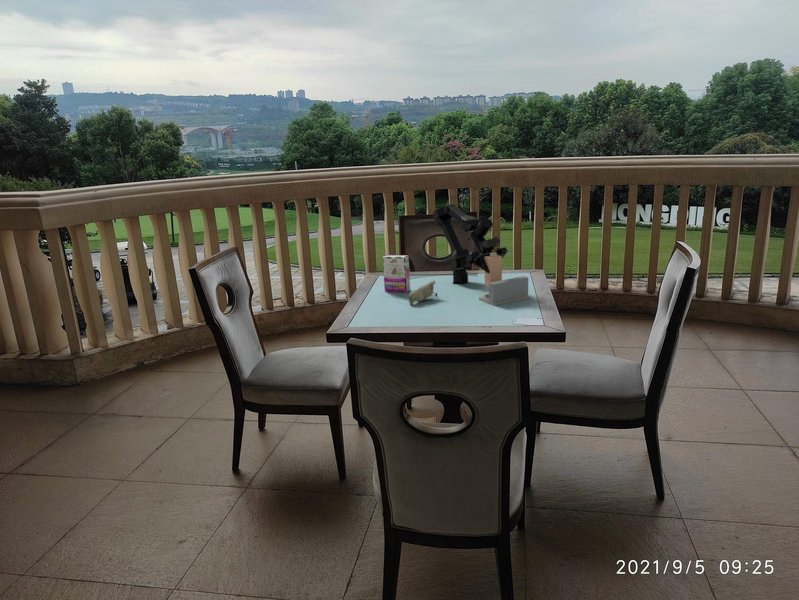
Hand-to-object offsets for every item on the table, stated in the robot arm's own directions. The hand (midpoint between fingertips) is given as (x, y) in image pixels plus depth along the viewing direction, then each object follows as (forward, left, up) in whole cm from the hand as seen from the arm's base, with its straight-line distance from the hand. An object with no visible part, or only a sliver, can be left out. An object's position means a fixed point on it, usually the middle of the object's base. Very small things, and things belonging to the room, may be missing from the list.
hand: (495, 271), depth 232 cm
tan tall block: (-1, +1, -7) cm, 7 cm away
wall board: (+3, -4, -11) cm, 12 cm away
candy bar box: (-45, +5, -11) cm, 46 cm away
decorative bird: (-30, -10, -11) cm, 33 cm away
